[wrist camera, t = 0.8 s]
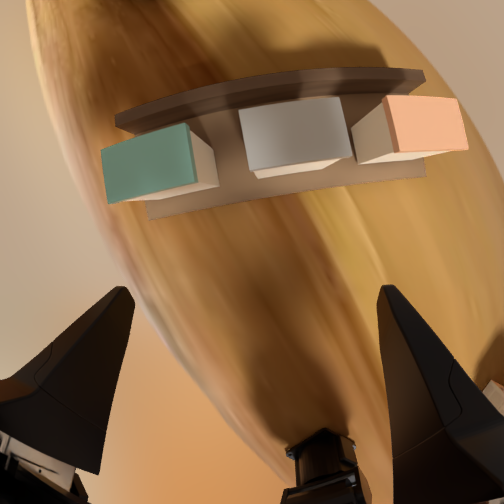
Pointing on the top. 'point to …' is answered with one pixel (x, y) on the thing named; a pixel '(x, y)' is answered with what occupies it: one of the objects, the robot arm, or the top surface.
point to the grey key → (294, 136)
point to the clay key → (409, 129)
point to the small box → (495, 395)
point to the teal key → (158, 166)
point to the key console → (265, 93)
